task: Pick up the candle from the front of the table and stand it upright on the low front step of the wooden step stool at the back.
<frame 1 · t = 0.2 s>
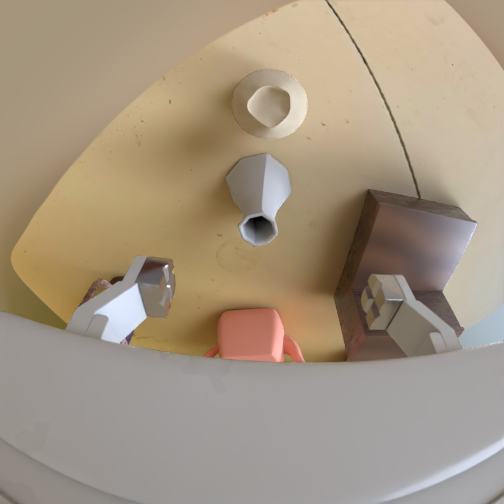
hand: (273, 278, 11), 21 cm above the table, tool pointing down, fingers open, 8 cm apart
candle: (267, 96, 25), on the table
flask: (259, 182, 31), on the table
teapot: (257, 325, 46), on the table
mug: (124, 283, 41), on the table
wooden step stool: (398, 254, 36), on the table
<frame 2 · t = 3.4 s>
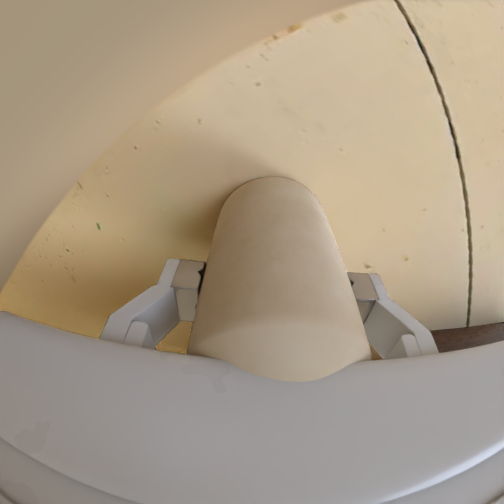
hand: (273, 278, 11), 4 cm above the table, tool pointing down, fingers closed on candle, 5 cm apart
candle: (271, 222, 14), on the table, touching gripper
wooden step stool: (425, 374, 26), on the table
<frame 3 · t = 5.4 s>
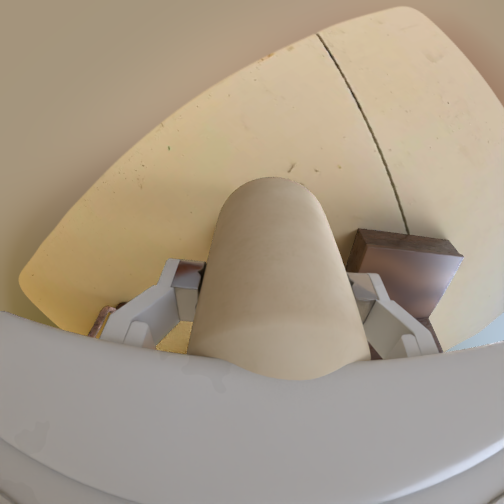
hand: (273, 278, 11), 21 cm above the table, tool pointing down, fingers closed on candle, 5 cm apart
candle: (271, 222, 15), point 16 cm above the table, touching gripper
mug: (130, 308, 44), on the table
wooden step stool: (387, 283, 39), on the table
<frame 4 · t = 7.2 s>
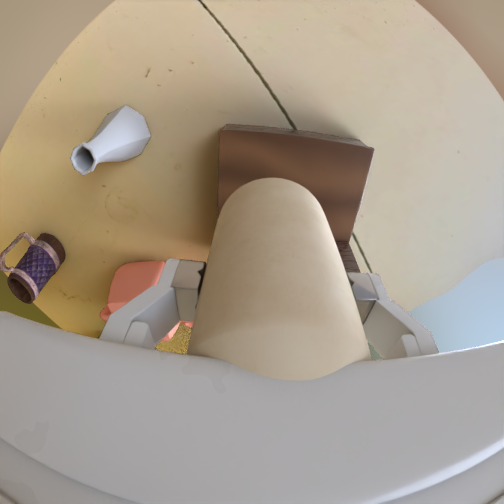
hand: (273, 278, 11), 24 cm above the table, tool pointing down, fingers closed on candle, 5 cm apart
candle: (271, 223, 15), point 20 cm above the table, touching gripper
flask: (125, 133, 30), on the table
teapot: (158, 282, 45), on the table
mug: (48, 240, 40), on the table
wooden step stool: (286, 197, 35), on the table
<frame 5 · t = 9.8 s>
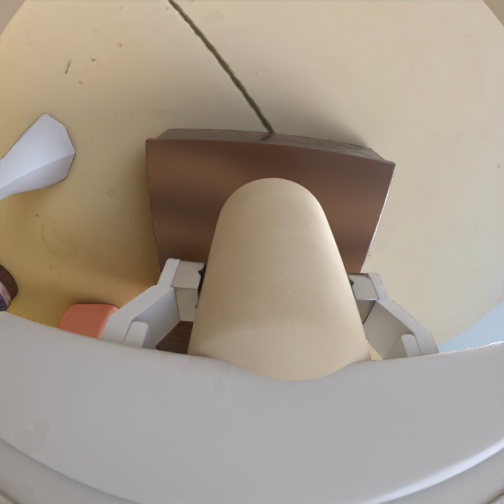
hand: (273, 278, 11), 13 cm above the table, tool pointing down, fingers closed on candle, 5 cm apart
candle: (271, 223, 15), point 8 cm above the table, touching gripper
flask: (49, 149, 20), on the table
teapot: (114, 325, 35), on the table
wooden step stool: (261, 232, 25), on the table
when the fingers open (8 cm above the table, at t = 11.4 s): candle stays where it is, resting on wooden step stool.
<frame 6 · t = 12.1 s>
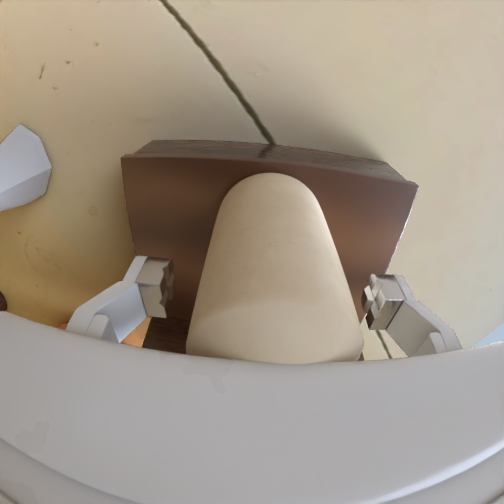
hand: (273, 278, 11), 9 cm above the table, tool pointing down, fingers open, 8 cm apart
candle: (269, 217, 15), point 4 cm above the table, touching wooden step stool
flask: (26, 163, 17), on the table
wooden step stool: (260, 257, 22), on the table
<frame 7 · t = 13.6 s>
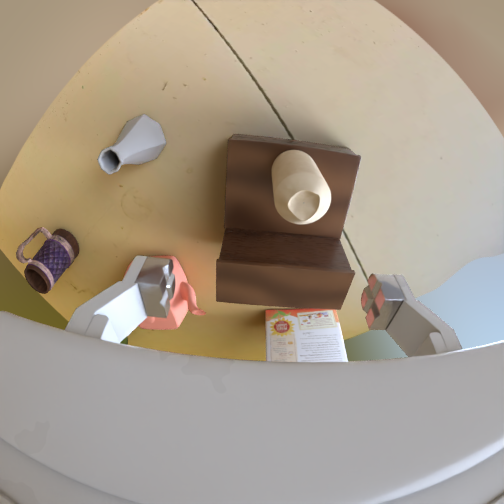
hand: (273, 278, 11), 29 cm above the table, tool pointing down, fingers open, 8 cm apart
candle: (293, 169, 33), point 4 cm above the table, touching wooden step stool
flask: (142, 139, 35), on the table
teapot: (167, 275, 49), on the table
cracker box: (300, 316, 55), on the table
mug: (63, 235, 45), on the table
wooden step stool: (284, 199, 40), on the table
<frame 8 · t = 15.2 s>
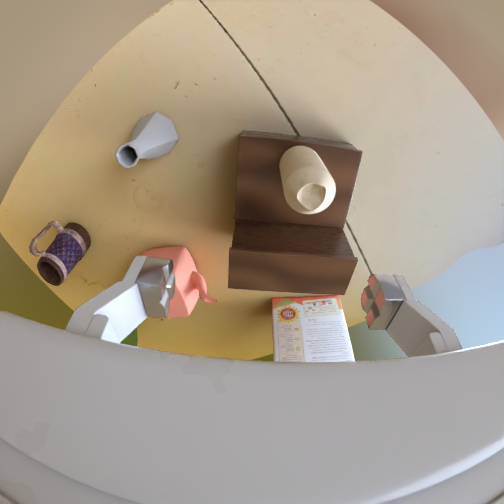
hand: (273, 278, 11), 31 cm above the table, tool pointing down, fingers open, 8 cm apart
candle: (299, 164, 35), point 4 cm above the table, touching wooden step stool
flask: (155, 135, 37), on the table
teapot: (177, 266, 52), on the table
cracker box: (304, 304, 57), on the table
apple: (129, 319, 63), on the table
mug: (74, 229, 47), on the table
wooden step stool: (291, 191, 42), on the table
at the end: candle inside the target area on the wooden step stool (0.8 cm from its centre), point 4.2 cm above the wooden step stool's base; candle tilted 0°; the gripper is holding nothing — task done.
